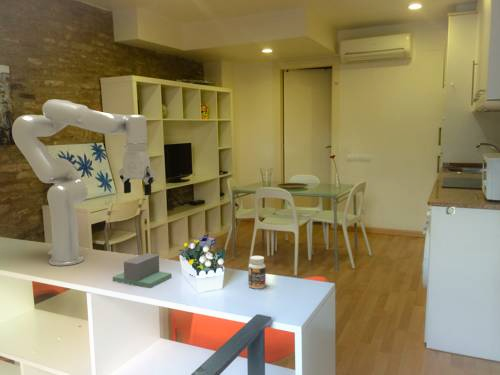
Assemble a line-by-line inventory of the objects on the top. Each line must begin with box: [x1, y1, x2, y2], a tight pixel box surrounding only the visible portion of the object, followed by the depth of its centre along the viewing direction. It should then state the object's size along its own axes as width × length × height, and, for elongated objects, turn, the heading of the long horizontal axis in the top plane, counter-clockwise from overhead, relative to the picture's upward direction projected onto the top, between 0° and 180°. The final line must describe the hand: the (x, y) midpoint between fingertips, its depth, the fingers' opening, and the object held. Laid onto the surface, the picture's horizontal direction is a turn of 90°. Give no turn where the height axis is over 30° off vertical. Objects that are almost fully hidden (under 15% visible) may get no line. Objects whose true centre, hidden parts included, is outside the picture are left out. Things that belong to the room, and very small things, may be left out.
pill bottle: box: [247, 255, 267, 290], centre depth 147 cm, size 6×6×10 cm
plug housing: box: [123, 252, 160, 281], centre depth 154 cm, size 12×6×6 cm, turn 155°
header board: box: [112, 270, 172, 289], centre depth 154 cm, size 16×12×5 cm
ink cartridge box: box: [190, 233, 217, 252], centre depth 162 cm, size 10×6×14 cm, turn 155°
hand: (137, 193), depth 166 cm, fingers open, 9 cm apart
